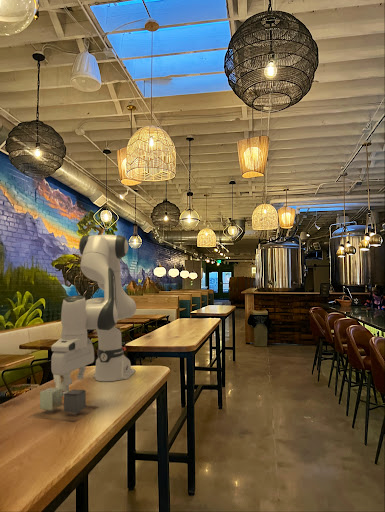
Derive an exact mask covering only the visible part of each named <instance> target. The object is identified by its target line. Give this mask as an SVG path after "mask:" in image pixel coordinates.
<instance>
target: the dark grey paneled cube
mask: <svg viewBox="0 0 385 512" xmlns="http://www.w3.org/2000/svg"><path fill="white" fill-rule="evenodd" d="M86 393H87V391H86V389H85V390H84V389H71V390H69V392H67V393H65V394H64V396H63V403H64V412H74V413H77V412H79V411H81V410H82V409H84V408H86V404H87V401H86V399H87V397H86V395H87V394H86Z"/></svg>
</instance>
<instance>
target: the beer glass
mask: <svg viewBox="0 0 385 512" xmlns="http://www.w3.org/2000/svg"><path fill="white" fill-rule="evenodd" d="M52 375H53V381H54V386H55V387H54V388H62V397H64V394H65V393H67V392H69V391H70V385H66V384H65V379H64V377H63V375H54V374H53V373H52ZM70 376H71V374H70Z"/></svg>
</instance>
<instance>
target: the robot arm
mask: <svg viewBox="0 0 385 512" xmlns="http://www.w3.org/2000/svg"><path fill="white" fill-rule="evenodd" d="M78 249H79V253H80V255H81V260H80V270H81V273H82V274H83V276H85V277H86V278H87V279H89V280H90V281H93V282H97V286H98V288H99V289H100V290H102V291H104V292H103V295H104V297H93V298H90V299H86V297H85V296H83V295H72V296H67V297H65V298H64V299H63V300H62V304H61V312H60V313H61V317H60V322H61V327H62V329H61V334H60V336H61V337H60V338H59V339H58V340H57V341H56V342H54V343H53V344H52V345H51V346H50V349H51V352H52V355H51V362H50V363H51V367H50V368H51V369H50V370H51V373H52V375H53V374H54V375H63V377H64V379H65V384H66V385H69V386H70V385H72V384H73V378H71V375H70V374H71V373H72V372H73V371H75V370H78V373H77V374H76V379H77V380H78V381H79V380H80V381H81V380H83V379H84V378H85V377H84V376H85V375H84V374H85V372H86V368H87V367H86V366H88V365H90V364H93V363H94V361H95V369H94V370H95V371H94V374H93V375H92V377H93V378H95V379H94V380H96V381H97V382H115V381H116V382H117V381H121V380H128V379H129V378H131V376H133V374H135V373H136V369H135V368H131V367H132V366H131V365H132V364H131V360H130V359H129V358H128V357H127V356H126V355H125V354H124V352H126V350H127V347H126V346H123V345H122V344H123V343H122V340H123V339H122V331H121V329H119V328H118V327H115V326H116V325H117V323H118V320H125V319H129V318H133V317H134V315H135V314H136V312H137V304H136V301H135V300H134V299H133V298H132V297H131V296H129V295H128V294H127V293H126V292H125V290H124V287H123V285H122V275H121V259H122V258H124V257H126V255H127V254H128V251H129V242H128V239H127V238H126V237H125V236H123V235H119V234H117V235H115V234H95V235H90V234H88V235H84V236H82V237H81V239H80V240H79V245H78ZM88 330H96V334H97V339H98V340H97V341H98V342H97V343H98V348H97V354H96V355H97V358H96V360H95V348H94V345H93V343H92V342H93V341H92V340H91V339H90V338H89V337H88Z"/></svg>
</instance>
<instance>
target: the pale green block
mask: <svg viewBox="0 0 385 512" xmlns="http://www.w3.org/2000/svg"><path fill="white" fill-rule="evenodd" d="M39 396H40V397H39V409H40V410H43V409H44V410H46V413H53V412H55V411H57V408H58V407H60V406H62V403H63V396H62V388H55V387H48V388H46V389H43V390H41V391H39Z"/></svg>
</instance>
